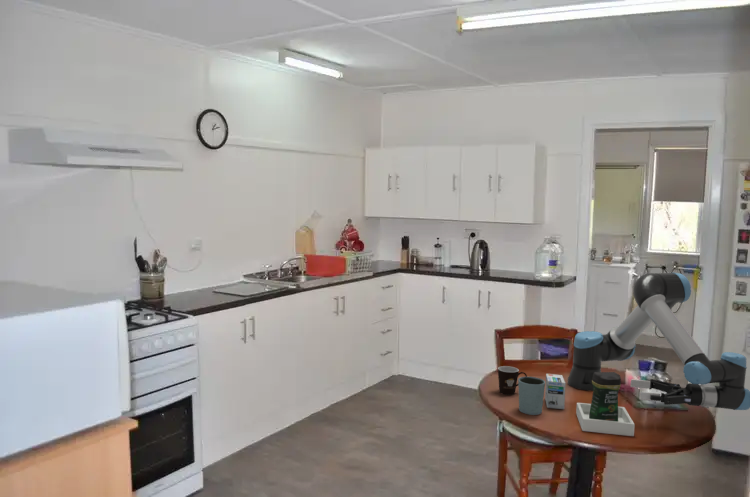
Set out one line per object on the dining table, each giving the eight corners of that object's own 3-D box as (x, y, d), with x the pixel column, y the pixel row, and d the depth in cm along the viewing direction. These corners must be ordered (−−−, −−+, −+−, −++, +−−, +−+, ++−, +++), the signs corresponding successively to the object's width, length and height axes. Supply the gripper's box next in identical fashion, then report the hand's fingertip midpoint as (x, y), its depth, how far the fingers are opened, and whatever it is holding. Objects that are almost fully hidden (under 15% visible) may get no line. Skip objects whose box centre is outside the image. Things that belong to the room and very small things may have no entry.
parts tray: (576, 413, 221) (576, 402, 221) (623, 418, 218) (624, 407, 217) (582, 430, 205) (583, 419, 204) (633, 436, 201) (634, 424, 201)
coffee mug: (494, 394, 241) (496, 370, 240) (498, 387, 249) (499, 365, 248) (523, 398, 237) (524, 374, 236) (526, 392, 245) (527, 368, 244)
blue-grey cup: (527, 416, 216) (529, 385, 215) (511, 407, 226) (512, 377, 225) (549, 413, 221) (551, 382, 219) (532, 404, 230) (533, 375, 229)
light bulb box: (564, 409, 225) (566, 382, 224) (546, 408, 226) (548, 381, 225) (561, 400, 236) (563, 374, 235) (544, 398, 237) (545, 373, 236)
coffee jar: (596, 426, 207) (600, 376, 205) (585, 418, 214) (588, 369, 213) (622, 426, 208) (625, 375, 206) (610, 417, 216) (613, 368, 214)
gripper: (711, 418, 192) (642, 411, 196) (687, 393, 216) (627, 387, 220) (713, 396, 191) (644, 390, 195) (689, 374, 215) (628, 368, 220)
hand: (635, 389), depth 208 cm, fingers open, 13 cm apart
